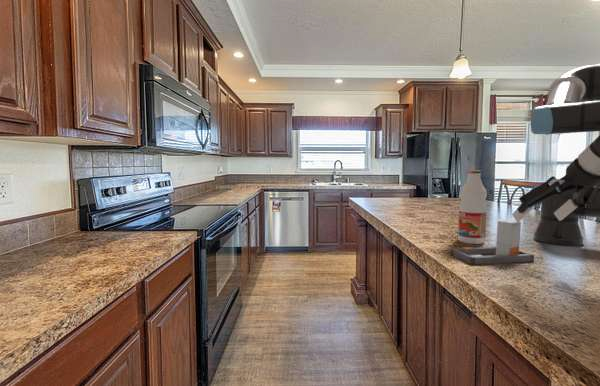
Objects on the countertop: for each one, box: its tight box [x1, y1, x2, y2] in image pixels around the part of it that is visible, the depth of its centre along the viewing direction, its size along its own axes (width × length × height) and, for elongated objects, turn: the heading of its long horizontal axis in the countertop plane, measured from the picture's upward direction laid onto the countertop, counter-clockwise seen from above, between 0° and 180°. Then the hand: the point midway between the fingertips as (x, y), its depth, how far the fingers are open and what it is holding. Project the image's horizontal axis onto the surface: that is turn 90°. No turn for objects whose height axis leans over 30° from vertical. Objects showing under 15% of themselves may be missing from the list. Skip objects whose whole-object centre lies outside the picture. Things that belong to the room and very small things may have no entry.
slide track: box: [450, 245, 535, 266], centre depth 105 cm, size 21×11×2 cm, turn 97°
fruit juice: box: [457, 169, 488, 245], centre depth 126 cm, size 9×9×28 cm
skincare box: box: [495, 219, 522, 256], centre depth 106 cm, size 6×4×12 cm
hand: (536, 217), depth 94 cm, fingers open, 13 cm apart
